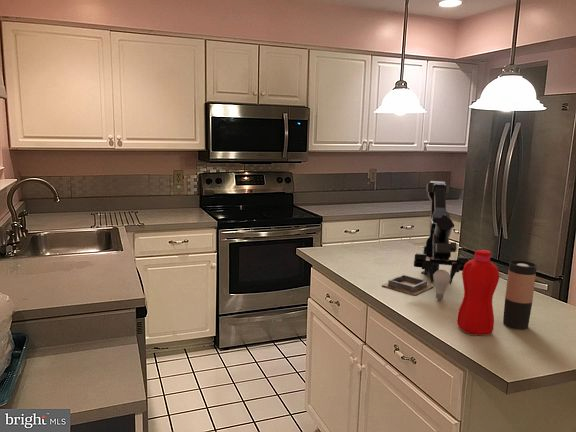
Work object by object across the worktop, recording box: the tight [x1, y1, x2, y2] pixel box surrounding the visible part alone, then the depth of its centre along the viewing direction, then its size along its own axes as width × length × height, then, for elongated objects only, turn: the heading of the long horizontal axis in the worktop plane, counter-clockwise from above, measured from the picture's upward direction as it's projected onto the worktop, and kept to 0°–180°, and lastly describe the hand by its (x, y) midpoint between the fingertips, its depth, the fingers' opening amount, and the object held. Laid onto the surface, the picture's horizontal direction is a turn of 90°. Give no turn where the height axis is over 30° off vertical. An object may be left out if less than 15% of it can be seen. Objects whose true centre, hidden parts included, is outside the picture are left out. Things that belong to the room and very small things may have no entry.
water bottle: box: [456, 249, 500, 336], centre depth 144 cm, size 9×11×25 cm
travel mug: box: [502, 259, 538, 331], centre depth 148 cm, size 8×8×20 cm
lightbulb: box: [433, 269, 450, 301], centre depth 169 cm, size 6×6×11 cm
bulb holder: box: [381, 274, 434, 297], centre depth 183 cm, size 14×14×2 cm
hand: (441, 283), depth 168 cm, fingers closed on lightbulb, 6 cm apart
